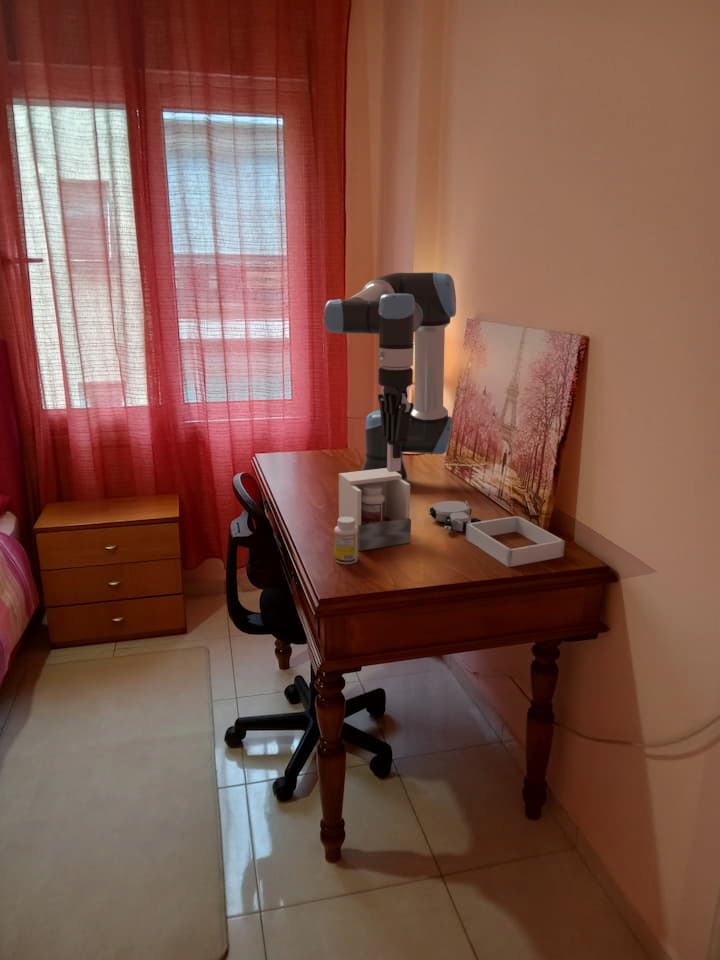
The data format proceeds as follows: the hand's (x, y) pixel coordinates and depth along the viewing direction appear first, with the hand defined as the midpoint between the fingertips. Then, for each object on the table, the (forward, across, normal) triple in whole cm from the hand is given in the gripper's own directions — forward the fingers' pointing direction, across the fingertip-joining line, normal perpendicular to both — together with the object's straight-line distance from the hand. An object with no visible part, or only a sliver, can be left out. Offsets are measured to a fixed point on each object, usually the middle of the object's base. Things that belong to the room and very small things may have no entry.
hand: (393, 470), depth 156 cm
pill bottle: (+19, -12, +1) cm, 23 cm away
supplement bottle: (+21, -2, -11) cm, 24 cm away
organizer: (+21, +7, +29) cm, 37 cm away
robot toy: (+22, -12, +24) cm, 35 cm away
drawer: (+21, -11, +1) cm, 23 cm away
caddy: (+21, -12, +1) cm, 24 cm away
